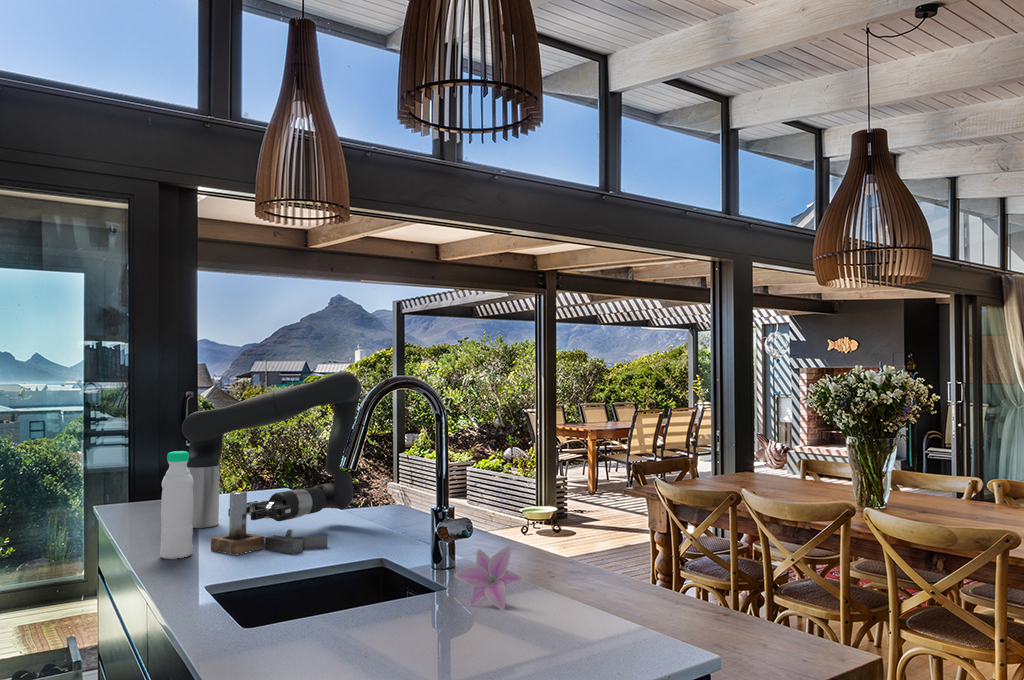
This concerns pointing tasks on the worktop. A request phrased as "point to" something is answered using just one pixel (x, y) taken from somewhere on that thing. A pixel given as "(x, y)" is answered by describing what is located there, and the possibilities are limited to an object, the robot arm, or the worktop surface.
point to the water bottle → (177, 508)
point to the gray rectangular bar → (238, 515)
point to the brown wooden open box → (237, 544)
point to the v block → (294, 543)
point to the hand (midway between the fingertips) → (240, 514)
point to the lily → (489, 577)
